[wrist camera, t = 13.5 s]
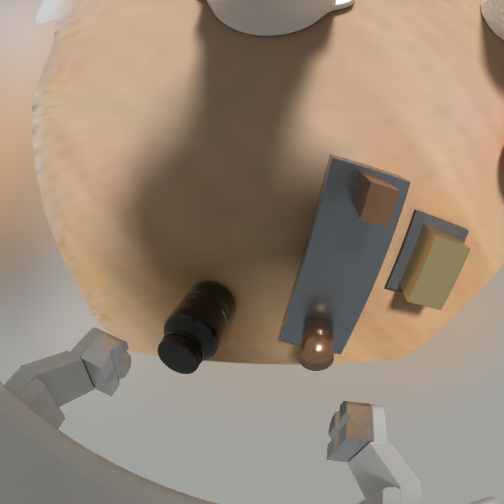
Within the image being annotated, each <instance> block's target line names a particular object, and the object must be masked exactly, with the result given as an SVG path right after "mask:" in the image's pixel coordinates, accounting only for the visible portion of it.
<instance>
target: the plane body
mask: <svg viewBox="0 0 504 504" xmlns="http://www.w3.org/2000/svg"><path fill="white" fill-rule="evenodd" d="M409 185H410V182H409V181H407V180H405V179H403V178H402V177H400V176H398V175H395V174H392V173H389V172H386V171H383V170H380V169H377V168H374V167H371V166H368V165H364V164H361V163H358V162H354V161H351V160H348V159H344V158H341V157H337V156H333V155H330V158H329V162H328V166H327V170H326V174H325V178H324V182H323V186H322V190H321V194H320V198H319V202H318V205H317V209H316V213H315V217H314V220H313V224H312V228H311V231H310V235H309V239H308V242H307V246H306V249H305V253H304V256H303V260H302V263H301V267H300V270H299V273H298V277H297V280H296V283H295V287H294V290H293V293H292V296H291V300H290V303H289V306H288V309H287V312H286V316H285V319H284V322H283V327H282V332H281V336H280V340H281V341H285V342H289V343H293V344H297V345H301V350H300V358H299V360H300V363H301V365H302V366H303V367H305V368H307V369H309V370H313V371H320V370H324V369H326V368H328V367H329V366H330V365H331V364H332V363H333V359H334V353H336V354H341V353H342V351H343V349H344V347H345V345H346V343H347V341H348V339H349V337H350V335H351V333H352V331H353V329H354V327H355V325H356V323H357V321H358V319H359V316H360V314H361V312H362V310H363V308H364V306H365V303H366V301H367V299H368V297H369V294H370V292H371V290H372V288H373V285H374V283H375V281H376V278H377V276H378V273H379V271H380V268H381V266H382V263H383V261H384V258H385V256H386V253H387V251H388V248H389V245H390V243H391V240H392V237H393V234H394V231H395V229H396V226H397V223H398V220H399V217H400V214H401V211H402V208H403V205H404V202H405V198H406V195H407V192H408V188H409Z"/></svg>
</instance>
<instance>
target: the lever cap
mask: <svg viewBox="0 0 504 504" xmlns="http://www.w3.org/2000/svg"><path fill="white" fill-rule="evenodd" d="M469 251H470V248H469V247H468V246H467V245H466V244H465V243H464V242H463V241H462V240H461V239H460V238H459V237H457V236H456V235H454V234H451V233H448V232H446V231H443V230H440V229H438V228H435V227H432V226H429V225H427V224H423V226H422V229H421V232H420V235H419V237H418V240H417V243H416V245H415V248H414V250H413V253H412V255H411V258H410V260H409V263H408V265H407V267H406V270H405V272H404V274H403V277H402V279H401V281H400V283H399V284H400V287H401V289H402V291H403V294H404V296H405V298H406V301H407V302H410V303H414V304H418V305H422V306H426V307H430V308H434V309H438V310H441V309H442V307H443V306H444V304H445V302H446V300H447V298H448V296H449V294H450V292H451V290H452V288H453V286H454V284H455V282H456V280H457V278H458V276H459V274H460V271H461V269H462V267H463V265H464V263H465V260H466V258H467V256H468V253H469Z"/></svg>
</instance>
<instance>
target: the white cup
mask: <svg viewBox="0 0 504 504" xmlns="http://www.w3.org/2000/svg"><path fill="white" fill-rule="evenodd" d="M480 7H481V12H482V15H483V17H484V19H485V21H486V23H487V25H488V26H489V27H490V28H491V29H492V31H493V32H494V33H495V34H496V35H497V36H499V37H500V38H501V39H502V40H504V0H482V3H481V5H480Z"/></svg>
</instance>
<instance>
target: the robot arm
mask: <svg viewBox="0 0 504 504" xmlns="http://www.w3.org/2000/svg"><path fill="white" fill-rule="evenodd" d="M206 1H207V2H208V4H209V6H210V7H211V9H212V11H213V13H214V14H215V15H216V17H217V18H218V19H219V20H220V21H222V22H223V23H224V24H226V25H227V26H229V27H231V28H233V29H235V30H237V31H240V32H243V33H247V34H252V35H261V36H274V35H283V34H288V33H292V32H295V31H298V30H301V29H304V28H306V27H308V26H310V25H312V24H313V23H315V22H316V21H318V20H319V19H320V18H322V17H323V16H324V15H325V14H327V13H329V12H330V11H334V10H338V9H342V8H346V7H349V6H351V5H352V4H353V3H354V0H206ZM127 350H128V344H127V342H126V341H123V340H121V339H119V338H117V337H114V336H112V335H110V334H108V333H106V332H104V331H101V330H99V329H97V328H93V329H91V330H90V331H89V332H88V333H87V334H86V335H85V336H84V337H83V338H82V339H81V340H80V342H79V343H78V344H77V345H76V346H75V347H74V348H73V349H72V350H71V351H70V352H68V351H65V352H62V353H59V354H56V355H53V356H50V357H47V358H44V359H41V360H38V361H35V362H32V363H28V364H25V365H22V366H21V367H20V368H19V369H18V370H17V371H16V372H15V374H14V375H13V376H12V377H11V378H10V379H9V380H8V381H7V382H6V384H5V385H3V384H2V383H1V382H0V504H217V503H213V502H209V501H206V500H203V499H199V498H196V497H193V496H190V495H187V494H184V493H181V492H178V491H176V490H173V489H170V488H167V487H165V486H162V485H160V484H157V483H155V482H153V481H150V480H148V479H146V478H143V477H141V476H139V475H137V474H134V473H132V472H130V471H128V470H126V469H124V468H122V467H120V466H118V465H116V464H114V463H112V462H110V461H108V460H106V459H105V458H103V457H101V456H99V455H98V454H96V453H94V452H92V451H91V450H89V449H87V448H86V447H84V446H82V445H81V444H79V443H78V442H76V441H74V440H73V439H71V438H70V437H68V436H67V435H65V434H64V433H62V432H61V431H59V430H58V428H59V427H60V425H61V424H62V422H63V421H64V420H65V416H64V414H63V413H62V411H61V410H60V409H59V407H60V406H62V405H64V404H66V403H68V402H70V401H72V400H74V399H76V398H78V397H80V396H82V395H84V394H86V393H88V392H90V391H91V390H93V389H94V388H95V389H97V390H99V391H101V392H103V393H105V394H108V395H110V396H112V395H113V393H114V392H115V391H116V389H117V388H118V386H119V379H121V378H123V377H125V376H126V375H127V373H128V372H129V368H130V366H131V357H130V355H129V354H128V352H127ZM329 436H330V437H331V439H332V440H331V441H330V443H329V444H328V448H327V460H335V461H345V462H348V465H349V467H350V469H351V471H352V473H353V475H354V477H355V479H356V480H357V483H358V485H359V487H360V488H361V491H362V492H363V494H364V496H365V498H366V499H365V500H363V501H361V502H359V503H357V504H422V489H421V483H420V482H419V480H418V479H417V478H416V476H415V475H414V474H413V472H412V471H411V470H410V468H409V467H408V466H407V464H406V463H405V462H404V460H403V459H402V457H401V456H400V455H399V453H398V452H397V451H396V449H395V448H394V447H393V445H392V444H391V443H387V433H386V421H385V411H384V407H383V406H382V405H374V404H367V403H358V402H348V401H344V402H343V403H342V404H341V405H340V411H338V412H336V413H335V414H334V416H333V417H332V420H331V422H330V427H329ZM468 504H500V503H499V502H498V501H497V500H496V499H495V498H493V497H487V498H484V499H481V500H478V501H474V502H471V503H468Z"/></svg>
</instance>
